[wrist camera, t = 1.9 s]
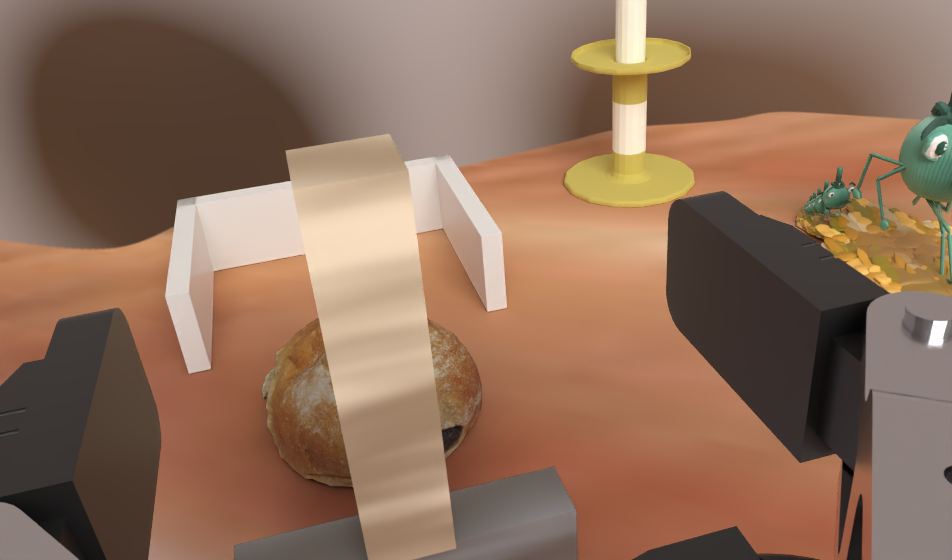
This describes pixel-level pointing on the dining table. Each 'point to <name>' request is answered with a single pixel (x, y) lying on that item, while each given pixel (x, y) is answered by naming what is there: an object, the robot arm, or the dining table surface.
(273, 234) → the box
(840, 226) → the frog figurine
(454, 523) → the scraper
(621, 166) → the candle
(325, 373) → the bread roll
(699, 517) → the dining table surface
